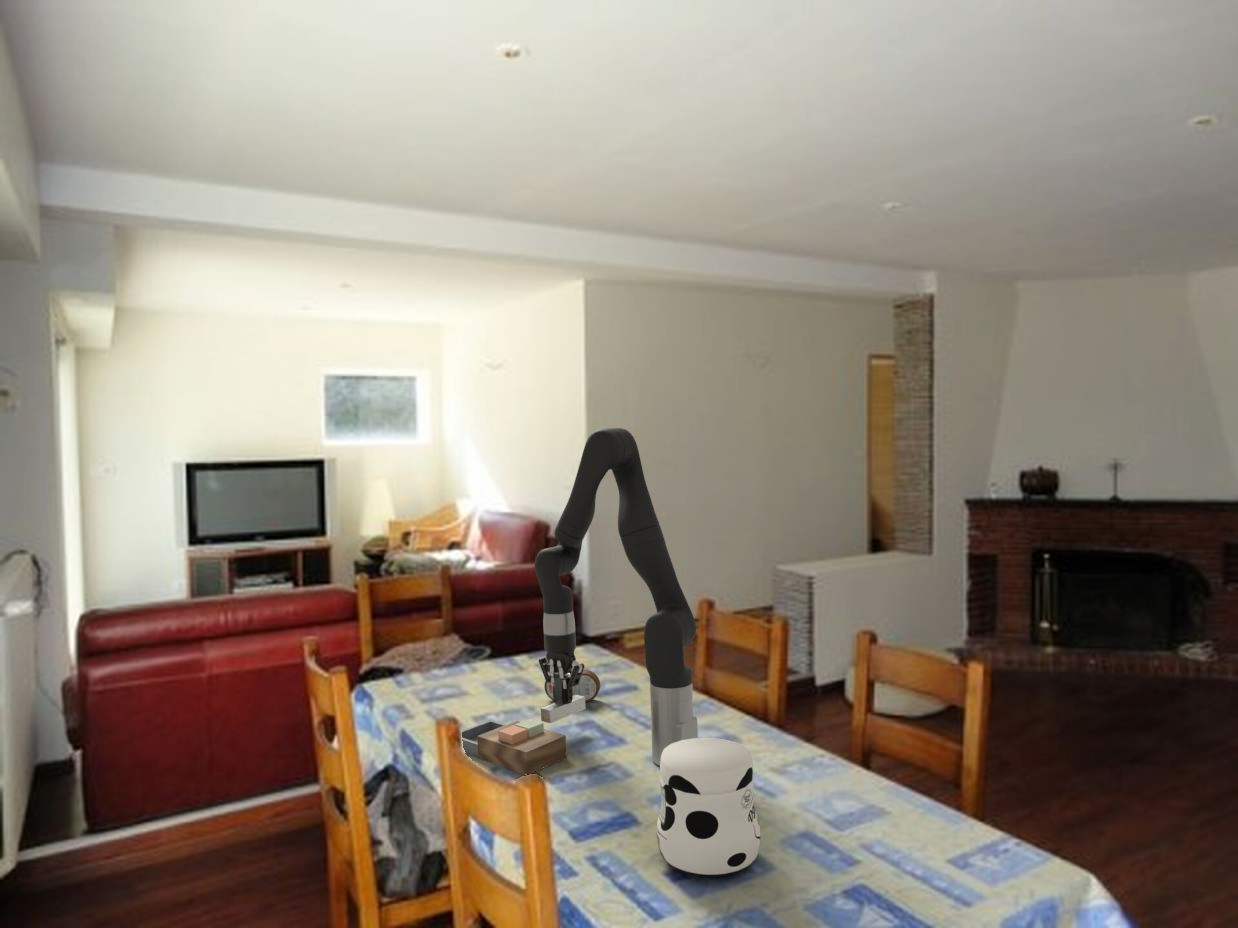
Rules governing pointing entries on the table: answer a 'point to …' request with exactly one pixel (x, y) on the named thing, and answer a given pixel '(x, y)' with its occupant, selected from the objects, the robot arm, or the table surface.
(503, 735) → the peach flat block
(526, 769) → the walnut block
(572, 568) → the robot arm
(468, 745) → the tray
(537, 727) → the sage tile
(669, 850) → the milk container
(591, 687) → the tin
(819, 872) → the table surface
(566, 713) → the scraper
